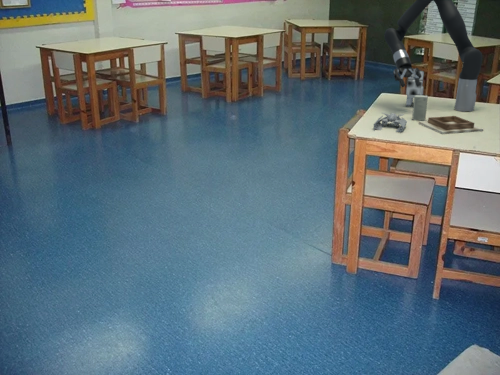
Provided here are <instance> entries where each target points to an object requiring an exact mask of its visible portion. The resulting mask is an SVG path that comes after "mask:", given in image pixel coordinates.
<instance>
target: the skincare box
mask: <svg viewBox="0 0 500 375" xmlns="http://www.w3.org/2000/svg"><path fill="white" fill-rule="evenodd" d="M428 97H429V96H428V95H424V94H423V95H415V96H414V98H413V108H412V120H414V121H421V122H423V121H425V120H426V116H427V108H428Z"/></svg>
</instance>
